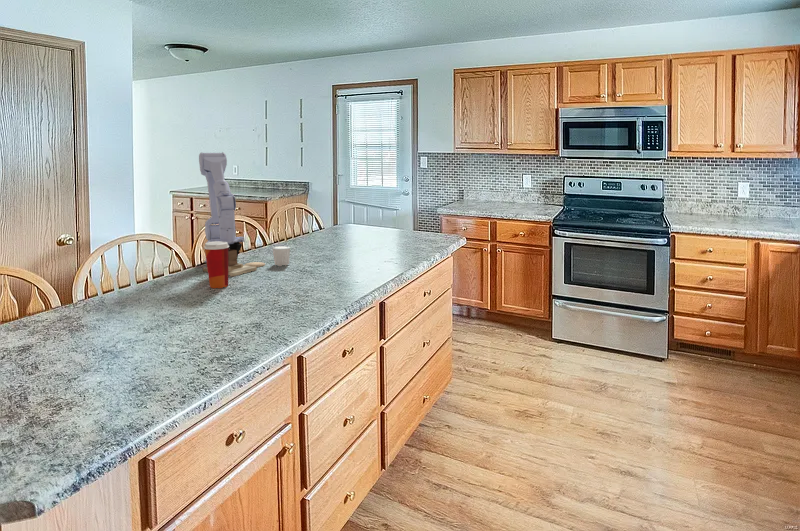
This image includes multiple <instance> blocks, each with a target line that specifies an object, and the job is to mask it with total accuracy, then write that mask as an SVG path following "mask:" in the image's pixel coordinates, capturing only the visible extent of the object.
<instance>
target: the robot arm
mask: <svg viewBox="0 0 800 531" xmlns="http://www.w3.org/2000/svg"><path fill="white" fill-rule="evenodd" d="M198 162H199V170H200V174H201V175H202V176H204V177H205V180H206V183H207V190H208V199H209V208H210V217H209V218H208V219H206V221H205V224H204V226H205V227H204V228H205V229H204V232H205V238H206V240H207V241H206V242H205V243H208V242H215V241H222V242H227V243H228V245H229V247H228V251H229V249H234V250H237V259H238V257H239V253H240V250H241V248H242V247H243V245H242V244H243V243H245V236H236V232H237V231H236V219H235V218H236V217H235V216H236V215H235V211H236V209H237V203H236V197H235V195H234V194H233V193H232V191H231V188H230V184H229V182H228V181H226V180H225V172H226V168H227V165H228V163H227V162H228V160H227V155H226V153H225V152H223V151H222V152H202V151H201V152H200V153H199V154H198ZM204 255H205V257H206V254H204ZM203 262H204V263H207V262H206V260H204V261H203Z"/></svg>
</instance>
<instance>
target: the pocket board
mask: <svg viewBox="0 0 800 531" xmlns="http://www.w3.org/2000/svg"><path fill="white" fill-rule="evenodd" d="M257 270H258V267H253V266H246V265H244V264H243V263H239V262H237V265H234V266H230V267H229V266H228V275H230V277H236V276H240V275H243V273H244V274H247V272H248V273H251V271H252V272H255V271H257ZM202 271H203V272H205V273H208V269H207V266H206V267H203V268H202Z"/></svg>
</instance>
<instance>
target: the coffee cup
mask: <svg viewBox="0 0 800 531" xmlns="http://www.w3.org/2000/svg"><path fill="white" fill-rule="evenodd" d="M228 247H229V245H228V243H227V242H222V241H215V242H208V243H206V242H205V243H204V246H203V249H204V253H205V254H206V256H205V261H206V262H205V263H206V267H207V269H208V272H207V275H208V282H209V288H211V289H216V288H218V289H224V288H223V287H225V288H228V287H227V286H229V276H228ZM205 254H204V255H205Z"/></svg>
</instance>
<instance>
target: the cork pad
mask: <svg viewBox="0 0 800 531" xmlns="http://www.w3.org/2000/svg"><path fill="white" fill-rule="evenodd" d="M243 265H246V266H253V267H257V268H261V266H262V267H264V266H266V263H265V262H261V261H256V262H255V261H254V262H253V261H252V262H247V263H245V264H243Z"/></svg>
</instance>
